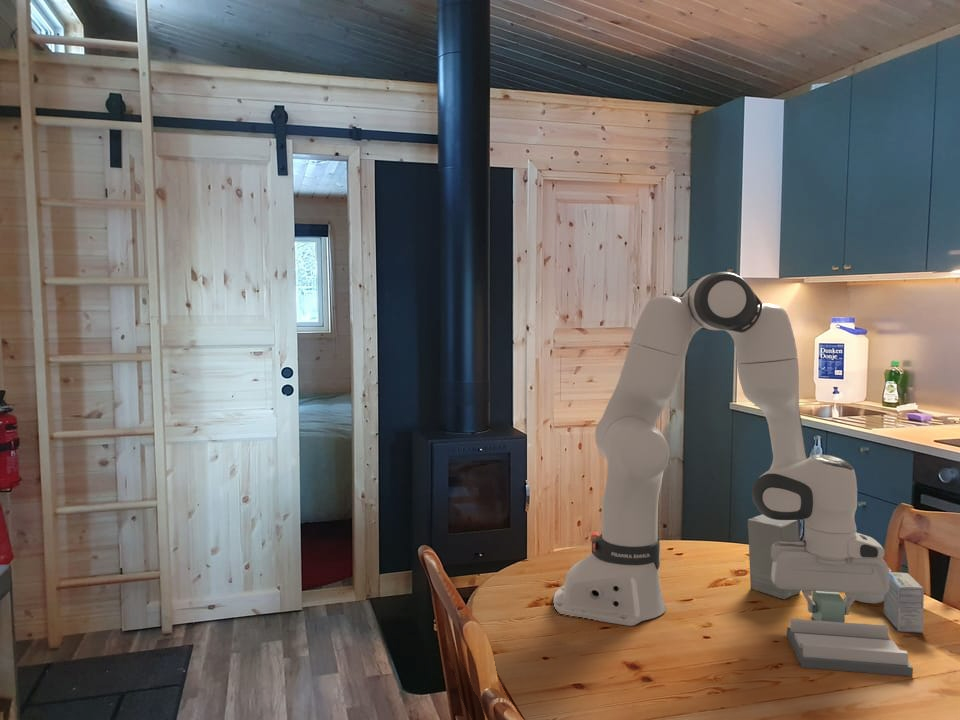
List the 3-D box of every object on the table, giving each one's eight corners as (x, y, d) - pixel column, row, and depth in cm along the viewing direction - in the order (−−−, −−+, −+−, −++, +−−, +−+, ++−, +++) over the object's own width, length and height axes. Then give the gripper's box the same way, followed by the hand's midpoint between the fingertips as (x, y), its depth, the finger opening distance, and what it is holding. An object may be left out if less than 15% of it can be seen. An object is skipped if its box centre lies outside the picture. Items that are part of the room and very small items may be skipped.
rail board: (801, 667, 122) (802, 647, 122) (786, 635, 134) (787, 616, 133) (912, 676, 119) (913, 655, 118) (887, 642, 130) (887, 623, 130)
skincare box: (801, 593, 152) (803, 520, 151) (781, 602, 148) (783, 526, 147) (765, 581, 159) (767, 510, 158) (745, 588, 155) (746, 516, 154)
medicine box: (923, 633, 134) (925, 588, 133) (897, 632, 134) (898, 586, 134) (907, 615, 141) (908, 572, 141) (882, 614, 142) (883, 571, 142)
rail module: (821, 632, 135) (821, 600, 134) (811, 616, 142) (812, 586, 141) (844, 633, 134) (845, 602, 134) (833, 617, 141) (834, 587, 140)
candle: (864, 586, 156) (865, 557, 155) (900, 602, 147) (901, 572, 147) (831, 592, 153) (832, 563, 153) (866, 609, 145) (867, 578, 144)
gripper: (774, 544, 136) (773, 615, 137) (893, 550, 131) (891, 624, 133) (768, 533, 142) (766, 602, 143) (882, 539, 138) (880, 609, 139)
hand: (827, 612), depth 138 cm, fingers closed on rail module, 4 cm apart
